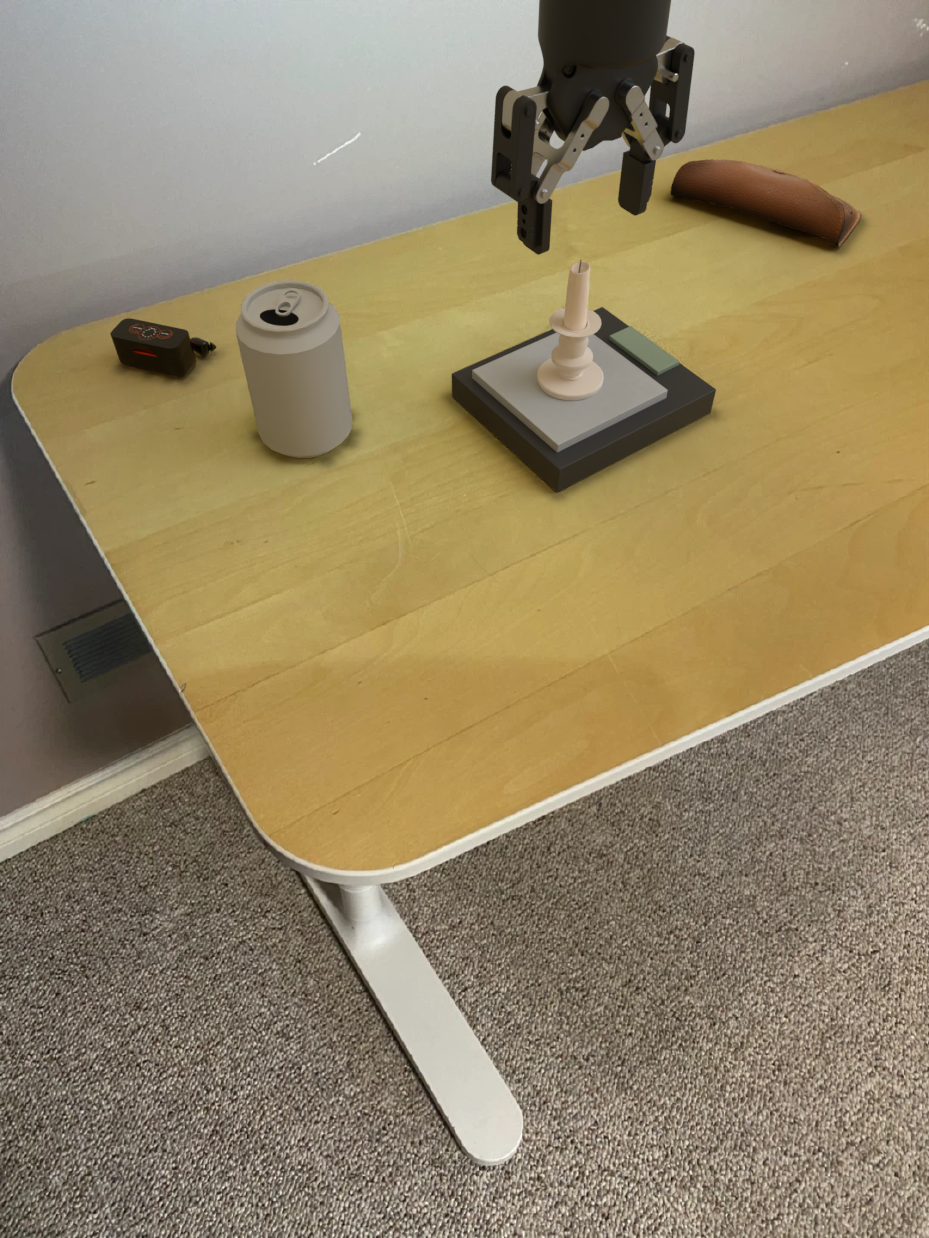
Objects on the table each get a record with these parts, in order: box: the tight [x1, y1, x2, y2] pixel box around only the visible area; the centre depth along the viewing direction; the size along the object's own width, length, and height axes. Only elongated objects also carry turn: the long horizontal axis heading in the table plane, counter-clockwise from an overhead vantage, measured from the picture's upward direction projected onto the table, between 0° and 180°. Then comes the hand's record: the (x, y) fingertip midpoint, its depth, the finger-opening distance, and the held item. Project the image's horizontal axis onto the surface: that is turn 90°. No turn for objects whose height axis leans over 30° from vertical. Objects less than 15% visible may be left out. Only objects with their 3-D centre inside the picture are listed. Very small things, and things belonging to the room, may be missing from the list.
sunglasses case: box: [670, 159, 863, 249], centre depth 96 cm, size 18×7×7 cm
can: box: [235, 279, 354, 459], centre depth 72 cm, size 8×8×12 cm
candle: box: [537, 259, 604, 401], centre depth 72 cm, size 5×5×10 cm
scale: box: [451, 306, 717, 493], centre depth 78 cm, size 16×14×3 cm
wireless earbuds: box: [109, 317, 217, 379], centre depth 82 cm, size 5×7×3 cm, turn 71°
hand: (584, 228), depth 66 cm, fingers open, 8 cm apart
